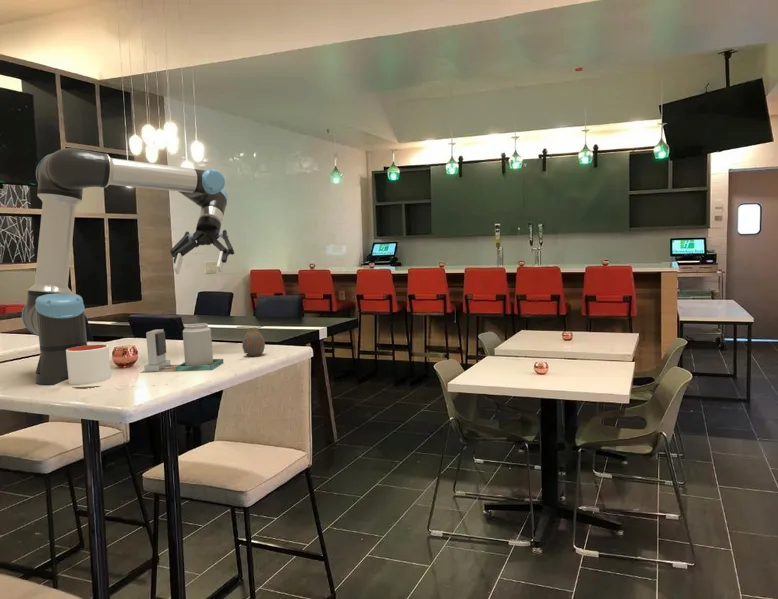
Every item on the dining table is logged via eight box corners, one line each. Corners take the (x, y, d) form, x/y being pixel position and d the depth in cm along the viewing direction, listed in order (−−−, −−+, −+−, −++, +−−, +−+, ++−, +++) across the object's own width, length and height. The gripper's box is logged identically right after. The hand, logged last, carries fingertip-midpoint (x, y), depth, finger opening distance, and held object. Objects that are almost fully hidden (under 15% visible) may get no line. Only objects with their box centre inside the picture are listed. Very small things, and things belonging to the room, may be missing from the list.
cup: (81, 391, 157) (77, 352, 156) (62, 387, 163) (58, 349, 162) (119, 383, 165) (115, 345, 164) (99, 379, 171) (96, 343, 170)
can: (180, 368, 174) (176, 325, 173) (204, 363, 180) (200, 321, 179) (194, 370, 169) (191, 326, 168) (218, 365, 175) (215, 323, 174)
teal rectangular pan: (140, 378, 170) (139, 368, 170) (155, 370, 180) (154, 361, 180) (212, 375, 169) (211, 365, 169) (223, 367, 179) (223, 358, 179)
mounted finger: (144, 371, 171) (141, 333, 170) (156, 366, 179) (153, 329, 178) (159, 371, 171) (156, 332, 170) (170, 365, 179) (167, 328, 178)
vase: (258, 357, 194) (257, 329, 193) (239, 357, 196) (237, 329, 195) (269, 353, 200) (267, 326, 200) (249, 353, 202) (248, 326, 202)
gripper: (249, 229, 212) (240, 276, 198) (176, 233, 213) (162, 279, 199) (243, 213, 206) (234, 260, 193) (169, 216, 207) (154, 263, 194)
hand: (197, 270), depth 196 cm, fingers open, 13 cm apart
